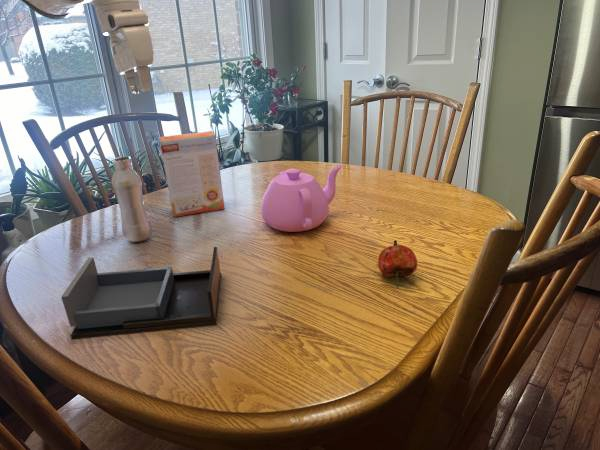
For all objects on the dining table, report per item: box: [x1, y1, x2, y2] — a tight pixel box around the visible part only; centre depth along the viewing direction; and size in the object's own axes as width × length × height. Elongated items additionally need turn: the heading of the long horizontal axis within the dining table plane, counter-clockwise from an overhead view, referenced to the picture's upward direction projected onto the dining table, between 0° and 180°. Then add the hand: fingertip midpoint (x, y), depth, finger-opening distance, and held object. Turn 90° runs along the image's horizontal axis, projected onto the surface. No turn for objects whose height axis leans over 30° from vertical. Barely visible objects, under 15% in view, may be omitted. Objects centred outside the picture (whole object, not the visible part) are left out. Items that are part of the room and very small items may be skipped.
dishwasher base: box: [70, 246, 222, 340], centre depth 79 cm, size 24×16×7 cm
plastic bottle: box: [110, 156, 152, 243], centre depth 102 cm, size 6×7×20 cm
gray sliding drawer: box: [60, 256, 174, 329], centre depth 78 cm, size 15×13×7 cm
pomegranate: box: [377, 239, 418, 290], centre depth 84 cm, size 7×7×10 cm
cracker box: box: [159, 130, 225, 218], centre depth 117 cm, size 14×6×21 cm, turn 108°
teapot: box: [260, 164, 344, 233], centre depth 109 cm, size 22×22×14 cm
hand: (141, 92), depth 94 cm, fingers open, 8 cm apart
